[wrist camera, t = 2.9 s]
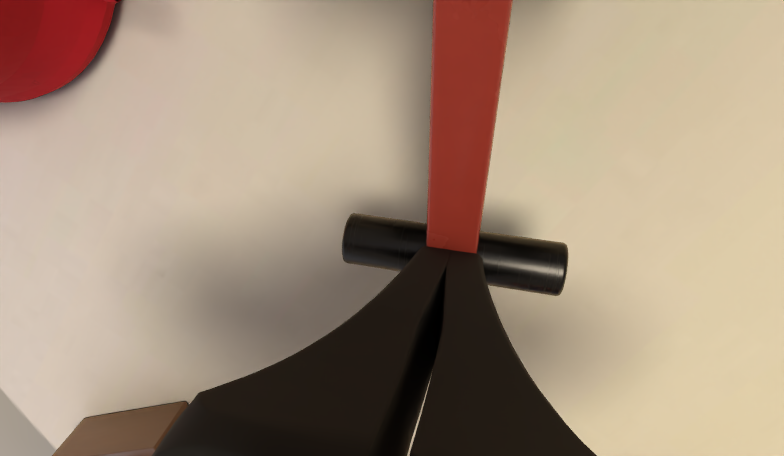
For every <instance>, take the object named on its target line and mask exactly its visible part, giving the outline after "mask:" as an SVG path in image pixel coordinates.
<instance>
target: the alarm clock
mask: <svg viewBox="0 0 784 456" xmlns="http://www.w3.org/2000/svg"><path fill="white" fill-rule="evenodd" d="M120 1H121V0H0V102H19V101H25V100H30V99H33V98H36V97H39V96H42V95H44V94H47V93H50V92H52V91H54V90H57V89H59V88H61V87H63V86H64V85H66V84H67V83H69V82H70V81H72V80H73V79H74V78H76V77H77V76H78V75H79V74H80V73H81V72H82V71H83V70H84V69H85V68H86V67H87V66H88V64H89V63H90V62H91V61H92V60H93V58H94V57H95V55H96V53H97V52H98V50H99V48H100V46H101V45H102V43H103V41H104V38H105V36H106V33H107V31H108V28H109V26H110V23H111V19H112V15H113V11H114V7H115V3H118V2H120Z"/></svg>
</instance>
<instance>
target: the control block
mask: <svg viewBox="0 0 784 456" xmlns="http://www.w3.org/2000/svg"><path fill="white" fill-rule="evenodd" d="M187 407H188V404H187V403H186V402H185V401H184V402H178V403H172V404H166V405H160V406H154V407H148V408H142V409H136V410H130V411H124V412H118V413H112V414H106V415H100V416H94V417H88V418H84V419H83V420H82V421H81V422H80V424H79V425H78V426H77V427H76V428H75V429H74V431H73V432H72V433H71V434H70V435H69V436H68V438H67V439H66V440H65V441H64V442H63V443H62V445H61V446H60V447H59V448H58V449H57V450H56V452H55V453H54V454H53V455H52V456H152V455H153V453H154V452H155V450H156V449H157V447H158V446H159V444H160V443H161V441H162V440H163V438H164V437H165V435H166V434H167V433H168V431H169V430H170V428H171V427H172V425H173V424H174V422H175V421H176V420H177V419H178V417H179V416H180V415H181V413H182V412H183V411H184V410H185V409H186V408H187Z"/></svg>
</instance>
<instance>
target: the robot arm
mask: <svg viewBox="0 0 784 456" xmlns="http://www.w3.org/2000/svg"><path fill="white" fill-rule="evenodd" d="M432 371H433V372H432ZM431 374H432V376H431ZM430 377H431V380H430ZM429 381H430V384H429ZM428 384H429V388H428V391H427V387H428ZM426 391H427V395H426V399H425V403H424V406H423V410H422V414H421V417H420V421H419V424H418V428H417V431H416V435H415V438H414V442H413V445H412V448H411V451H410V456H597V455H596V454H594V453H593V452H592V451H591V450H590V449H589V448H588V447H587V446H586V445H585V444H584V443H583V442H582V441H581V440H580V439H579V438H578V437H577V436H576V435H575V433H574V432H573V431H572V430H571V429H570V428H569V427H568V426H567V425H566V423H565V422H564V421H563V420H562V418H561V417H560V416H559V415H558V413H557V412H556V411H555V409H554V408H553V407H552V406H551V404H550V403H549V402H548V400H547V399H546V398H545V397H544V395H543V394H542V393H541V391H540V390H539V389H538V387H537V386H536V384H535V383H534V381H533V380H532V378H531V377H530V375H529V374H528V372H527V370H526V369H525V367H524V365H523V364H522V362H521V361H520V359H519V357H518V355H517V354H516V352H515V350H514V348H513V346H512V344H511V342H510V340H509V338H508V336H507V334H506V332H505V330H504V328H503V326H502V323H501V321H500V319H499V316H498V314H497V311H496V309H495V306H494V303H493V301H492V298H491V295H490V292H489V289H488V285H487V282H486V278H485V274H484V268H483V259H482V257H481V256H480V255H479V254H476V253H468V252H462V251H455V250H448V249H442V248H435V247H428V246H423V247H422V248H420V249H419V250H418V251H417V252H416V254H415V255H414V256H413V258H412V259H411V260H410V261H409V263H408V264H407V265H406V266H405V267H404V268H403V269H402V270H401V272H400V273H399V274H398V275H397V276H396V277H395V278H394V279H393V280H392V281H391V282H390V283H389V284H388V285H387V286H386V287H385V288H384V289H383V290H382V291H381V292H380V293H379V294H378V295H377V296H376V297H375V298H373V299H372V300H371V301H370V302H369V303H368V304H367V305H365V306H364V307H363V308H362V309H361V310H360V311H358V312H357V313H356V314H355V315H354V316H352V317H351V318H350V319H348V320H347V321H346V322H344V323H343V324H342V325H340V326H339V327H338V328H336V329H335V330H333V331H332V332H330V333H329V334H327V335H326V336H324V337H323V338H321V339H320V340H318V341H316V342H315V343H313V344H311V345H310V346H308V347H306V348H305V349H303V350H301V351H299V352H298V353H296V354H294V355H292V356H290V357H288V358H286V359H284V360H282V361H280V362H278V363H276V364H274V365H271V366H269V367H267V368H264V369H262V370H260V371H258V372H255V373H253V374H250V375H248V376H245V377H243V378H240V379H237V380H234V381H231V382H229V383H226V384H223V385H220V386H217V387H215V388H212V389H209V390H206V391H202V392H200V393H198V395H197V396H196V397H195V398H194V400H193V401H192V402H191V403H190V404H189V405H188V407H187V408H186V409H185V410H184V411H183V412H182V413H181V415H180V416H179V417H178V419H177V420H176V421H175V422H174V424H173V425H172V427H171V428H170V430H169V431H168V433H167V434H166V435H165V437H164V438H163V440H162V441H161V443H160V444H159V446H158V447H157V449H156V450H155V452H154V453H153V455H152V456H407V454H408V450H409V446H410V442H411V439H412V436H413V433H414V429H415V426H416V423H417V420H418V416H419V413H420V410H421V407H422V403H423V400H424V397H425V394H426Z"/></svg>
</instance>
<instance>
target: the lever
mask: <svg viewBox="0 0 784 456" xmlns="http://www.w3.org/2000/svg"><path fill="white" fill-rule="evenodd" d="M512 3H513V0H433V24H432V60H431V96H430V132H429V168H428V204H427V223H420V222H413V221H406V220H399V219H392V218H385V217H378V216H371V215H364V214H357V213H354V214H351V215H350V216H349V218H348V220H347V223H346V226H345V229H344V234H343V241H342V255H343V260H344V261H345V262H346V263H350V264H356V265H363V266H369V267H375V268H382V269H388V270H394V271H401V270H402V269H403V268H404V267H405V266H406V265H407V264H408V263H409V261H410V260H411V259H412V258H413V256H414V255H415V254H416V252H417V251H418V250H419V249H420V248H422V247H423V246H428V247H435V248H442V249H448V250H455V251H462V252H468V253H476V254H479V255H480V256H481V257H482V259H483V268H484V274H485V278H486V282H487V285H490V286H496V287H503V288H509V289H515V290H522V291H528V292H534V293H541V294H547V295H553V296H558V295H560V294H561V292H562V290H563V287H564V283H565V279H566V274H567V266H568V248H567V245H566V244H564V243H561V242H554V241H547V240H540V239H532V238H525V237H518V236H511V235H504V234H497V233H490V232H483V231H480V228H481V221H482V214H483V207H484V200H485V193H486V186H487V179H488V172H489V165H490V158H491V151H492V144H493V137H494V130H495V123H496V115H497V108H498V101H499V94H500V87H501V80H502V73H503V66H504V59H505V52H506V45H507V38H508V31H509V24H510V17H511V10H512Z"/></svg>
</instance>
